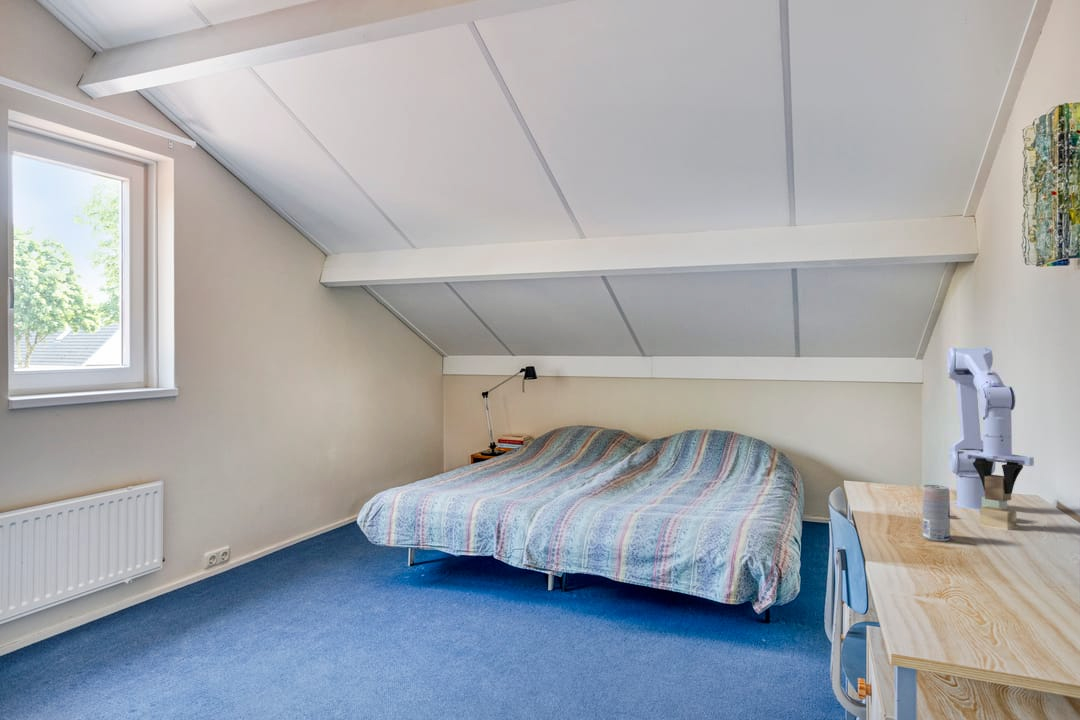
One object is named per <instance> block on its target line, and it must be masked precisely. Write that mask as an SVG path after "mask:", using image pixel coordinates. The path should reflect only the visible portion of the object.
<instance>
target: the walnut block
mask: <svg viewBox="0 0 1080 720" xmlns="http://www.w3.org/2000/svg"><path fill="white" fill-rule="evenodd" d="M985 499H989V500H996V501H1002V502H1004V501H1007V502H1009V501H1011V500H1012V493H1011V494H1005V490H1004V475H999V474H992V475H989V476H985Z"/></svg>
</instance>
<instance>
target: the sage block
mask: <svg viewBox="0 0 1080 720" xmlns="http://www.w3.org/2000/svg"><path fill="white" fill-rule="evenodd" d="M986 506H993V507H999V508H1005V509H1008V501H1004V502H1002V501H996V500H989V499H985V497H982V508H983V507H986Z"/></svg>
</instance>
